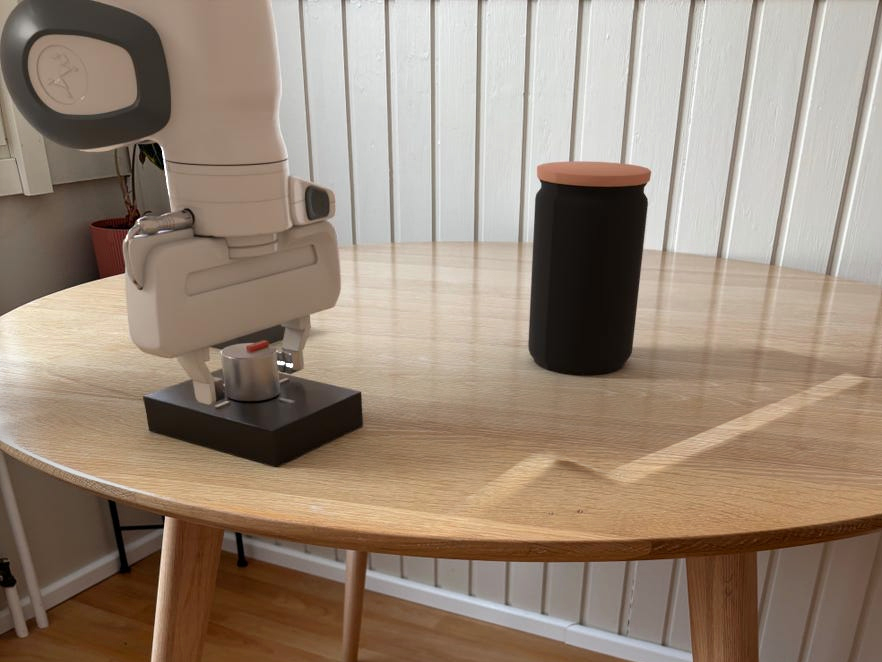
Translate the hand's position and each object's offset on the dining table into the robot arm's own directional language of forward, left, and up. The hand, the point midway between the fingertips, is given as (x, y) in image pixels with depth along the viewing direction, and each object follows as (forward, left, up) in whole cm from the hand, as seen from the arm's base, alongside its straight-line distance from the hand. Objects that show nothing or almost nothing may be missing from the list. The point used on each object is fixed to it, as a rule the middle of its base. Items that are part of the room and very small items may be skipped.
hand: (252, 385), depth 77 cm
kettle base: (-22, +20, -4) cm, 30 cm away
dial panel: (0, 0, -4) cm, 4 cm away
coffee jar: (+14, +33, -4) cm, 36 cm away
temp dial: (0, 0, -1) cm, 1 cm away
